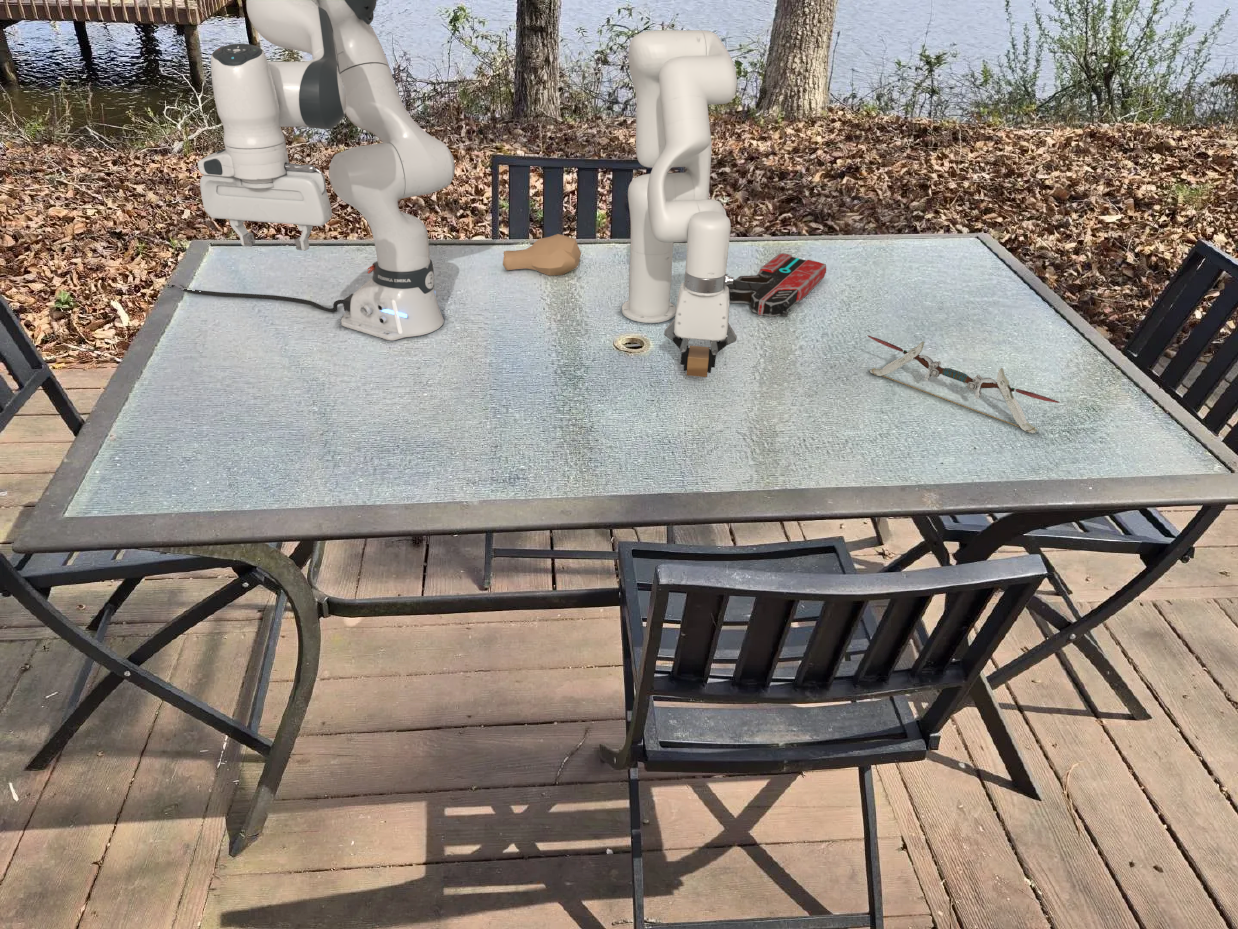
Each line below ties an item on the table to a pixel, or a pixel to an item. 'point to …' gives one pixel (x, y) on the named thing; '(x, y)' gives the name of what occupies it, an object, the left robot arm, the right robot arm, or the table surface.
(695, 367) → the block
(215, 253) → the table surface
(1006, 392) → the bow
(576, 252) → the squash
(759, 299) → the gun
